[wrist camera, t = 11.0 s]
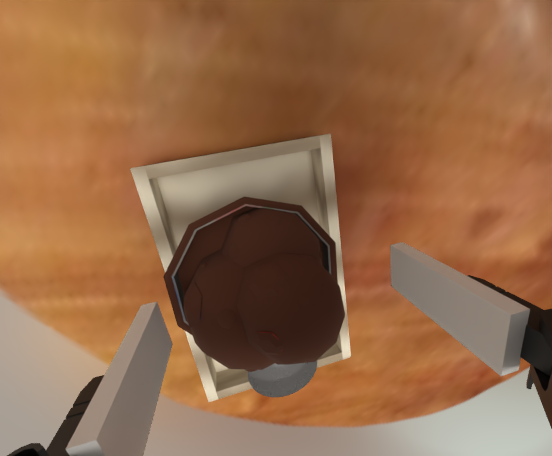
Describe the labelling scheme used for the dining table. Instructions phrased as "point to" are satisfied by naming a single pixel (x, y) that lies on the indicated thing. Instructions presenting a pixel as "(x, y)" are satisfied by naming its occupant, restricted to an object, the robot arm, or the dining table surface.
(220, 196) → the cream rectangular tray
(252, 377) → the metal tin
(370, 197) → the dining table surface
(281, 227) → the ice cream bowl
